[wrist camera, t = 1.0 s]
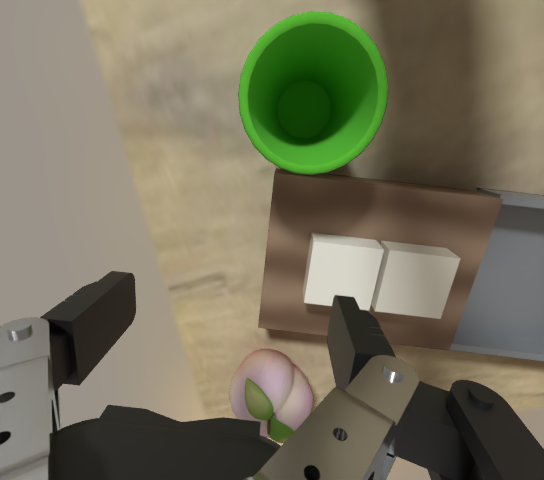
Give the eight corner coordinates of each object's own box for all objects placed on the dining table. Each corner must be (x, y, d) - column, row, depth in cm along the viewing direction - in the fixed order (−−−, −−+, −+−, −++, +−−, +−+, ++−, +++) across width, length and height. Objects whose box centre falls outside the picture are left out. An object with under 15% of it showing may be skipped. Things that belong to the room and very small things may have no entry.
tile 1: (311, 232, 29) (313, 241, 26) (376, 240, 29) (384, 249, 26) (302, 289, 31) (303, 302, 28) (363, 296, 31) (369, 310, 28)
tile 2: (381, 240, 29) (389, 250, 26) (446, 248, 28) (460, 258, 26) (368, 297, 31) (374, 311, 28) (428, 304, 30) (440, 319, 28)
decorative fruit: (222, 353, 39) (200, 424, 29) (272, 318, 36) (266, 382, 27) (271, 399, 41) (266, 480, 31) (320, 368, 39) (331, 445, 29)
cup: (248, 150, 30) (228, 159, 20) (265, 46, 27) (251, -7, 17) (337, 169, 31) (363, 187, 20) (364, 67, 28) (410, 27, 17)
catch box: (477, 188, 30) (501, 194, 27) (629, 205, 30) (670, 213, 27) (431, 329, 36) (446, 349, 33) (559, 344, 36) (587, 366, 32)
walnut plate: (276, 168, 31) (274, 173, 27) (476, 191, 31) (503, 199, 27) (261, 307, 36) (258, 327, 32) (432, 327, 36) (449, 350, 32)
